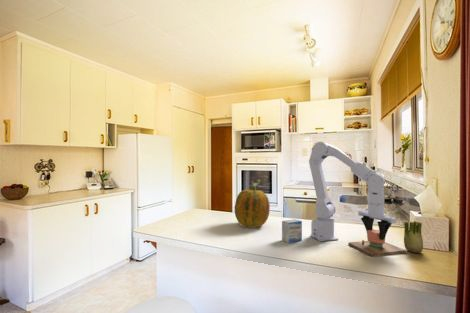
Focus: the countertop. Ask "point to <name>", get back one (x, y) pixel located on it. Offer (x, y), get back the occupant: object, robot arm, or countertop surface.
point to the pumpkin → (252, 207)
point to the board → (372, 251)
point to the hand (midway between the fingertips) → (375, 237)
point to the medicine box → (292, 230)
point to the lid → (374, 236)
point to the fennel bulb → (413, 237)
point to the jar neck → (375, 245)
